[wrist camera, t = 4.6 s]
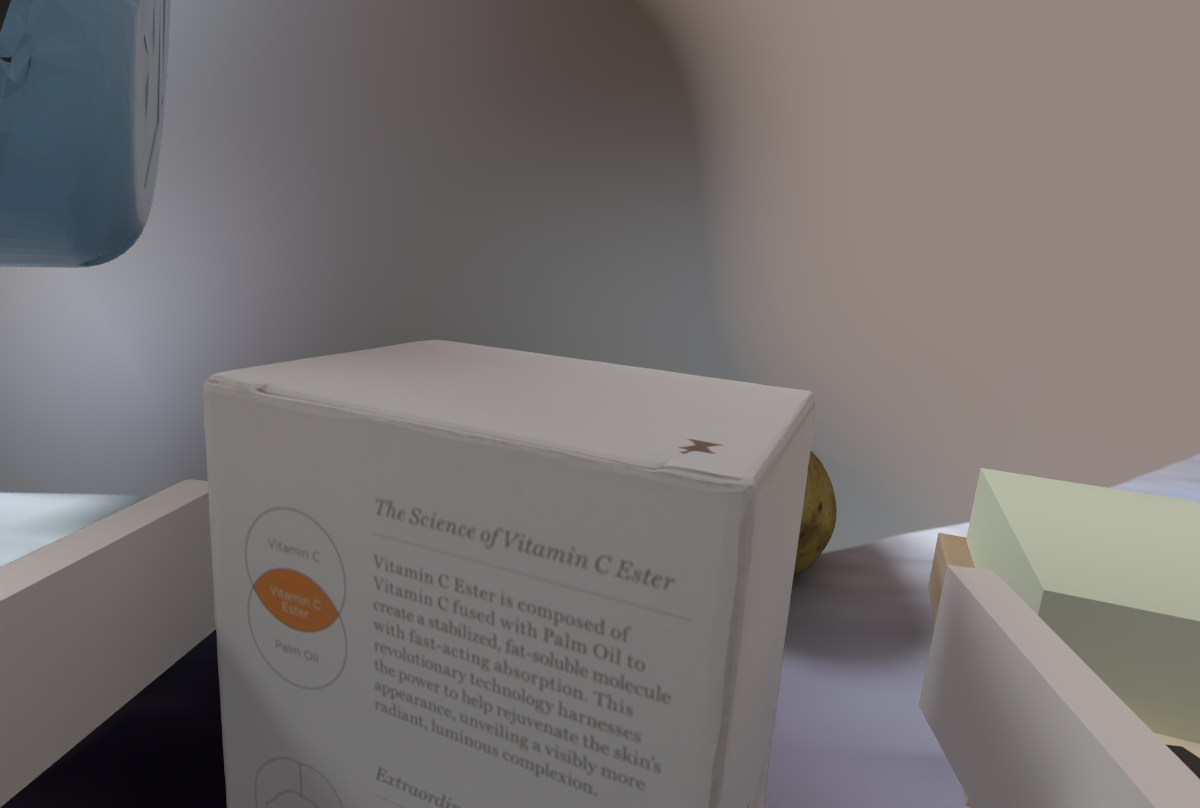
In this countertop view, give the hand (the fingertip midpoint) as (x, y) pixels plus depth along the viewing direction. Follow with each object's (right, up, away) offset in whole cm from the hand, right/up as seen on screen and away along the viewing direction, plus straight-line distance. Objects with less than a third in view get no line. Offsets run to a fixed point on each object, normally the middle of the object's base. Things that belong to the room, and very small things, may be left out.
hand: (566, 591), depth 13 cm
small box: (-1, -7, 0) cm, 7 cm away
